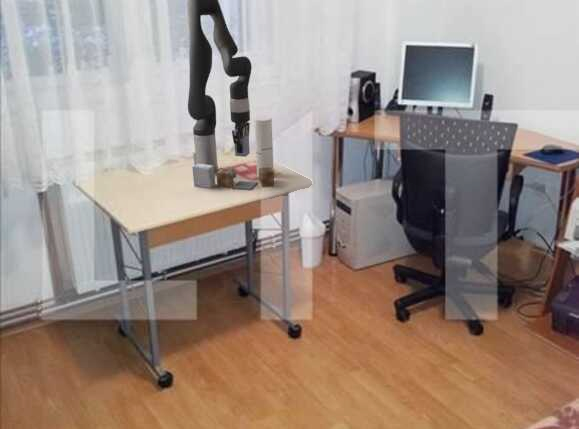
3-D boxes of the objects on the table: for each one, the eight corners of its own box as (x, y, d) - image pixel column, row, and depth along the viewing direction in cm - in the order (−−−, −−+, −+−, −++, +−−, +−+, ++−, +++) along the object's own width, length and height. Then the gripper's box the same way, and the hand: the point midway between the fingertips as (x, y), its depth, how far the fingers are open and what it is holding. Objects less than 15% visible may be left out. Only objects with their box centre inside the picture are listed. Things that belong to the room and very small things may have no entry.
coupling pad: (232, 188, 261) (232, 187, 261) (239, 182, 268) (239, 180, 268) (250, 190, 259) (250, 188, 259) (257, 183, 266) (257, 182, 266)
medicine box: (215, 185, 266) (214, 165, 262) (210, 188, 262) (208, 168, 259) (199, 183, 269) (197, 163, 265) (193, 186, 265) (192, 166, 262)
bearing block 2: (261, 187, 262) (260, 173, 260) (258, 182, 268) (257, 168, 265) (274, 185, 263) (273, 171, 261) (271, 180, 269) (270, 167, 266)
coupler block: (245, 156, 256) (244, 136, 252) (235, 156, 257) (234, 135, 254) (249, 153, 260) (248, 133, 256) (239, 152, 261) (238, 132, 258)
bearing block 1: (217, 186, 264) (216, 172, 262) (222, 181, 269) (221, 168, 267) (233, 187, 262) (232, 174, 260) (238, 182, 267) (237, 169, 265)
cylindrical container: (273, 178, 272) (271, 120, 262) (256, 178, 272) (253, 120, 262) (274, 172, 278) (271, 115, 268) (257, 172, 278) (254, 116, 269)
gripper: (242, 114, 244) (244, 157, 250) (255, 105, 256) (257, 146, 263) (224, 113, 246) (226, 155, 252) (237, 104, 258) (239, 145, 265)
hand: (242, 150), depth 258 cm, fingers closed on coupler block, 4 cm apart
